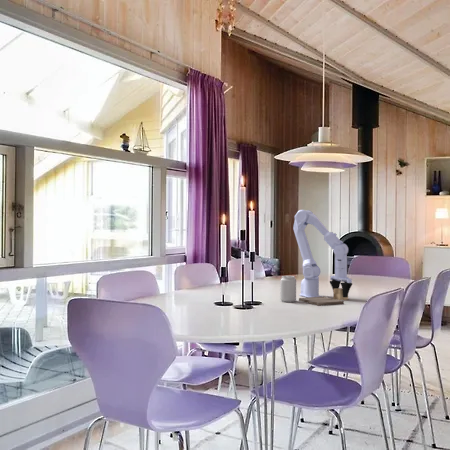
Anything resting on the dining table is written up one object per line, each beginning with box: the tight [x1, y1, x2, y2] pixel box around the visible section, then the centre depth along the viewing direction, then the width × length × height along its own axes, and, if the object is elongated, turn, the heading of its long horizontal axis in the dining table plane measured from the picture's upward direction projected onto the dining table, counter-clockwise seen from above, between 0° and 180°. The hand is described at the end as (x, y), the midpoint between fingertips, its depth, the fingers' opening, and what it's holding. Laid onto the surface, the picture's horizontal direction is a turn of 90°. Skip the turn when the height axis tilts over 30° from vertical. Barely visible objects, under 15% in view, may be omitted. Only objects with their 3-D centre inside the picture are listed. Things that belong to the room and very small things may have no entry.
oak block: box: [332, 287, 349, 301], centre depth 244 cm, size 5×5×5 cm
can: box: [279, 275, 297, 303], centre depth 236 cm, size 8×8×12 cm
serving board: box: [298, 296, 345, 307], centre depth 234 cm, size 16×14×1 cm
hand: (340, 296), depth 244 cm, fingers open, 7 cm apart
